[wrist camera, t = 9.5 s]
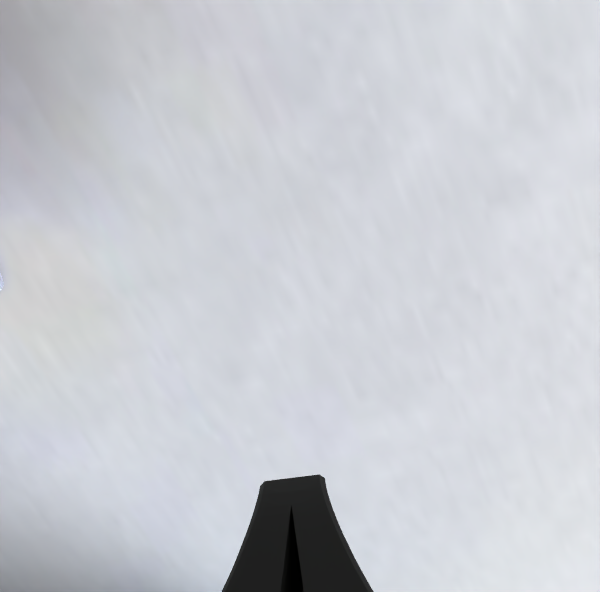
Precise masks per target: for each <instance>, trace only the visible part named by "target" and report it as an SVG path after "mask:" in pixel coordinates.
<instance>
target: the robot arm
mask: <svg viewBox="0 0 600 592" xmlns="http://www.w3.org/2000/svg"><path fill="white" fill-rule="evenodd" d="M3 285H4V284H3V279H2V276H1V274H0V291H1V290H2V288H3ZM222 592H373V590H372V589H371V587H370V585H369V583H368V582H367V580H366V578H365V576H364V574H363V573H362V571H361V569H360V567H359V565H358V563H357V562H356V560H355V558H354V556H353V554H352V552H351V550H350V547H349V545H348V543H347V541H346V539H345V537H344V535H343V533H342V531H341V528H340V526H339V524H338V521H337V519H336V516H335V514H334V511H333V508H332V506H331V503H330V500H329V496H328V493H327V488H326V484H325V478H324V477H322V476H321V475H312V476H304V477H296V478H288V479H280V480H272V481H265V482H264V483H263V484H262V485H261V486H260V490H259V495H258V499H257V502H256V506H255V509H254V513H253V516H252V519H251V522H250V525H249V527H248V530H247V533H246V536H245V538H244V541H243V544H242V546H241V549H240V551H239V554H238V556H237V559H236V561H235V564H234V566H233V568H232V571H231V573H230V575H229V577H228V579H227V582H226V584H225V586H224V588H223V590H222Z"/></svg>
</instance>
